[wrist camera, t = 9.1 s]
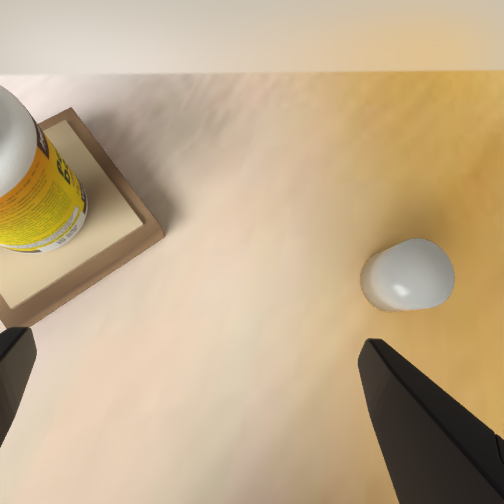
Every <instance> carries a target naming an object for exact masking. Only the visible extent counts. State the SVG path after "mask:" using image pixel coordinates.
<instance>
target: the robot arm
mask: <svg viewBox="0 0 504 504" xmlns="http://www.w3.org/2000/svg"><path fill="white" fill-rule="evenodd" d="M36 355H37V349H36V345H35V341H34V337H33V333H32V330H31V328H29V327H23V326H13V327H10V328H8V329H6V330H5V331H3V332H2V333H0V447H1V445H2V443H3V441H4V439H5V437H6V435H7V433H8V431H9V429H10V427H11V424H12V422H13V420H14V418H15V415H16V413H17V410H18V407H19V405H20V402H21V399H22V396H23V393H24V391H25V388H26V385H27V382H28V379H29V376H30V374H31V371H32V368H33V365H34V362H35V359H36ZM358 368H359V372H360V377H361V381H362V385H363V390H364V394H365V398H366V403H367V407H368V411H369V415H370V418H371V421H372V425H373V428H374V431H375V433H376V436H377V439H378V442H379V445H380V448H381V451H382V454H383V457H384V460H385V463H386V466H387V469H388V471H389V474H390V477H391V480H392V483H393V486H394V489H395V492H396V495H397V498H398V501H399V504H504V440H503V439H502V438H501V437H500V436H499V435H497V434H495V433H494V431H492V430H491V429H490V428H489V427H488V426H486V425H485V424H484V423H483V422H481V421H480V420H479V419H478V418H477V417H475V416H474V415H473V414H472V413H471V412H469V411H468V410H467V409H466V408H465V407H463V406H462V405H461V404H460V403H458V402H457V401H456V400H455V399H454V398H452V397H451V396H450V395H449V394H448V393H446V392H445V391H444V390H443V389H442V388H440V387H439V386H438V385H437V384H435V383H434V382H433V381H432V380H431V379H429V378H428V377H427V376H426V375H425V374H423V373H422V372H421V371H420V370H419V369H417V368H416V367H415V366H414V365H412V364H411V363H410V362H409V361H408V360H406V359H405V358H404V357H403V356H402V355H400V354H399V353H398V352H397V351H396V350H394V349H393V348H392V347H391V346H389V345H388V344H387V343H386V342H385V341H383V340H382V339H374V338H369V339H367V340H366V341H365V343H364V345H363V348H362V350H361V352H360V355H359V358H358Z"/></svg>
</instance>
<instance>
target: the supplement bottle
mask: <svg viewBox="0 0 504 504" xmlns="http://www.w3.org/2000/svg"><path fill="white" fill-rule="evenodd" d="M87 208H88V203H87V197H86V193H85V190H84V188H83V186H82V184H81V183H80V181H79V180H78V178H77V177H76V175H75V174H74V173H73V171H72V170H71V169H70V167H69V166H68V165H67V163H66V162H65V161H64V159H63V158H62V157H61V155H60V154H59V152H58V151H57V150H56V148H55V147H54V146H53V144H52V143H51V141H50V140H49V139H48V137H47V136H46V135H45V133H44V132H43V131H42V129H41V128H40V127H39V125H38V124H37V123H36V121H35V120H34V119H33V117H32V116H31V114H30V113H29V112H28V110H27V109H26V108H25V106H24V105H23V104H22V103H21V102H20V101H19V100H18V99H17V98H16V97H15V96H14V95H13V94H12V93H11V92H9V91H8V90H7V89H5V88H4V87H2V86H0V246H2V247H4V248H7V249H9V250H12V251H15V252H20V253H28V254H38V253H44V252H49V251H52V250H54V249H57V248H59V247H61V246H63V245H64V244H66V243H67V242H69V241H70V240H71V239H72V238H73V237H74V236H75V235H76V234H77V233H78V232H79V230H80V229H81V227H82V225H83V223H84V221H85V218H86V215H87Z"/></svg>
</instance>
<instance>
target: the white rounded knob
mask: <svg viewBox="0 0 504 504" xmlns="http://www.w3.org/2000/svg"><path fill="white" fill-rule="evenodd" d="M454 280H455V276H454V270H453V266H452V263H451V261H450V259H449V257H448V256H447V254H446V253H445V252H444V251H443V250H442V249H441V248H440V247H439V246H438V245H436V244H435V243H433V242H431V241H429V240H426V239H421V238H413V239H409V240H406V241H404V242H402V243H399V244H397V245H395V246H393V247H390V248H388V249H386V250H384V251H382V252H379V253H377V254H375V255H373V256H371V257H370V258H369V259H368V260H367V261H366V262H365V264H364V265H363V267H362V270H361V275H360V283H361V288H362V291H363V293H364V295H365V297H366V298H367V300H368V301H369V302H370V303H371V304H372V305H373V306H375V307H376V308H378V309H380V310H382V311H385V312H400V311H408V310H417V309H425V308H432V307H436V306H439V305H440V304H442V303H443V302H445V301H446V300H447V299H448V297H449V296H450V294H451V292H452V290H453V287H454Z"/></svg>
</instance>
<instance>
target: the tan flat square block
mask: <svg viewBox="0 0 504 504" xmlns="http://www.w3.org/2000/svg"><path fill="white" fill-rule="evenodd" d="M38 125H39V127H40V128H41V129H42V131H43V132H44V133H45V135H46V136H47V137H48V139H49V140H50V141H51V143H52V144H53V146H54V147H55V148H56V150H57V151H58V152H59V154H60V155H61V157H62V158H63V159H64V161H65V162H66V163H67V165H68V166H69V167H70V169H71V170H72V171H73V173H74V174H75V175H76V177H77V178H78V180H79V181H80V183H81V184H82V186H83V188H84V190H85V193H86V197H87V203H88V208H87V215H86V218H85V221H84V223H83V225H82V227H81V229H80V230H79V232H78V233H77V234H76V235H75V236H74V237H73V238H72V239H71V240H70V241H69V242H67V243H66V244H64V245H63V246H61V247H59V248H57V249H54V250H52V251H49V252H44V253H38V254H28V253H20V252H15V251H12V250H9V249H7V248H4V247H2V246H0V320H1V321H2V322H3V324H4V325H5V327H6V328H7V329H8V328H10V327H13V326H23V327H30V326H32V325H33V324H35V323H36V322H38V321H39V320H41V319H42V318H44V317H45V316H47V315H48V314H50V313H51V312H53V311H54V310H56V309H57V308H59V307H60V306H62V305H63V304H65V303H66V302H68V301H69V300H71V299H72V298H74V297H75V296H77V295H79V294H80V293H82V292H83V291H85V290H86V289H88V288H89V287H91V286H92V285H94V284H95V283H97V282H98V281H100V280H101V279H103V278H104V277H106V276H107V275H109V274H110V273H112V272H113V271H115V270H116V269H118V268H119V267H121V266H122V265H124V264H125V263H127V262H128V261H130V260H131V259H133V258H134V257H136V256H137V255H139V254H140V253H142V252H143V251H145V250H146V249H148V248H149V247H151V246H152V245H154V244H155V243H157V242H158V241H160V240H161V239H163V238H164V237H165V236H164V233H163V229H162V227H161V226H160V225H159V223H158V222H157V221H156V219H155V218H154V217H153V215H152V214H151V213H150V211H149V210H148V209H147V207H146V206H145V205H144V203H143V202H142V201H141V199H140V198H139V197H138V195H137V194H136V193H135V191H134V190H133V189H132V187H131V186H130V185H129V183H128V182H127V181H126V179H125V178H124V177H123V175H122V174H121V173H120V171H119V170H118V169H117V167H116V166H115V165H114V163H113V162H112V161H111V159H110V158H109V157H108V155H107V154H106V153H105V151H104V150H103V149H102V147H101V146H100V145H99V143H98V142H97V141H96V139H95V138H94V137H93V135H92V134H91V133H90V131H89V130H88V129H87V127H86V126H85V125H84V123H83V122H82V121H81V119H80V118H79V117H78V115H77V114H76V113H75V111H74V110H73V109H72V107H71V108H69V109H67V110H65V111H63V112H61V113H59V114H57V115H55V116H53V117H51V118H49V119H47V120H45V121H43V122H41V123H39V124H38Z"/></svg>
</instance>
